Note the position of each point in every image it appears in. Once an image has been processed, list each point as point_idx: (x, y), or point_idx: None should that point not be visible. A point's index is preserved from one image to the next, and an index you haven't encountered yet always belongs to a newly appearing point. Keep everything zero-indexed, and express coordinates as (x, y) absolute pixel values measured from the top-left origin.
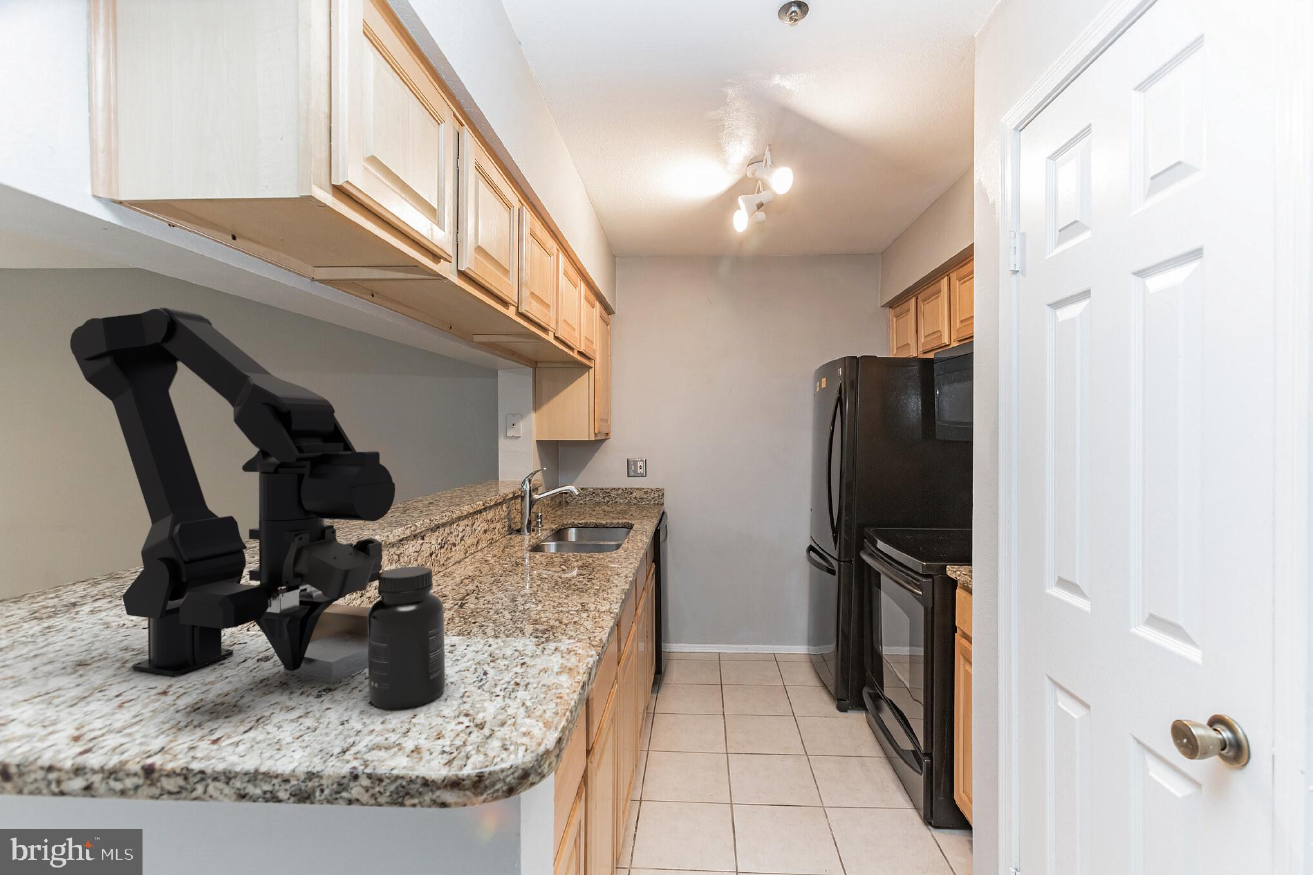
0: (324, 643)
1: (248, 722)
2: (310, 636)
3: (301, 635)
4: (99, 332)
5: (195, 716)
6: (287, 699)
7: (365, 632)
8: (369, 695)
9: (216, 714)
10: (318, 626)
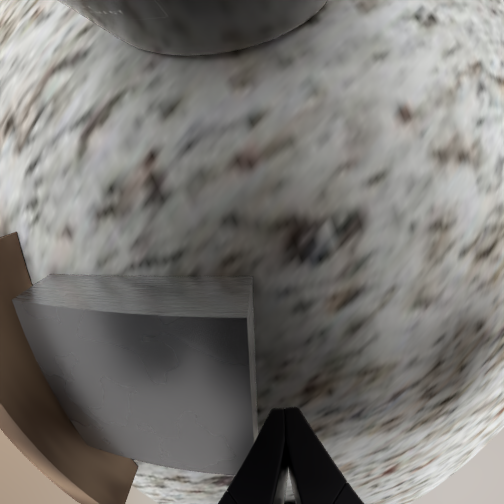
0: (148, 444)
1: (498, 258)
2: (237, 486)
3: (275, 502)
4: None
5: (473, 373)
6: (396, 296)
7: (42, 395)
8: (322, 5)
9: (470, 353)
10: (115, 482)
